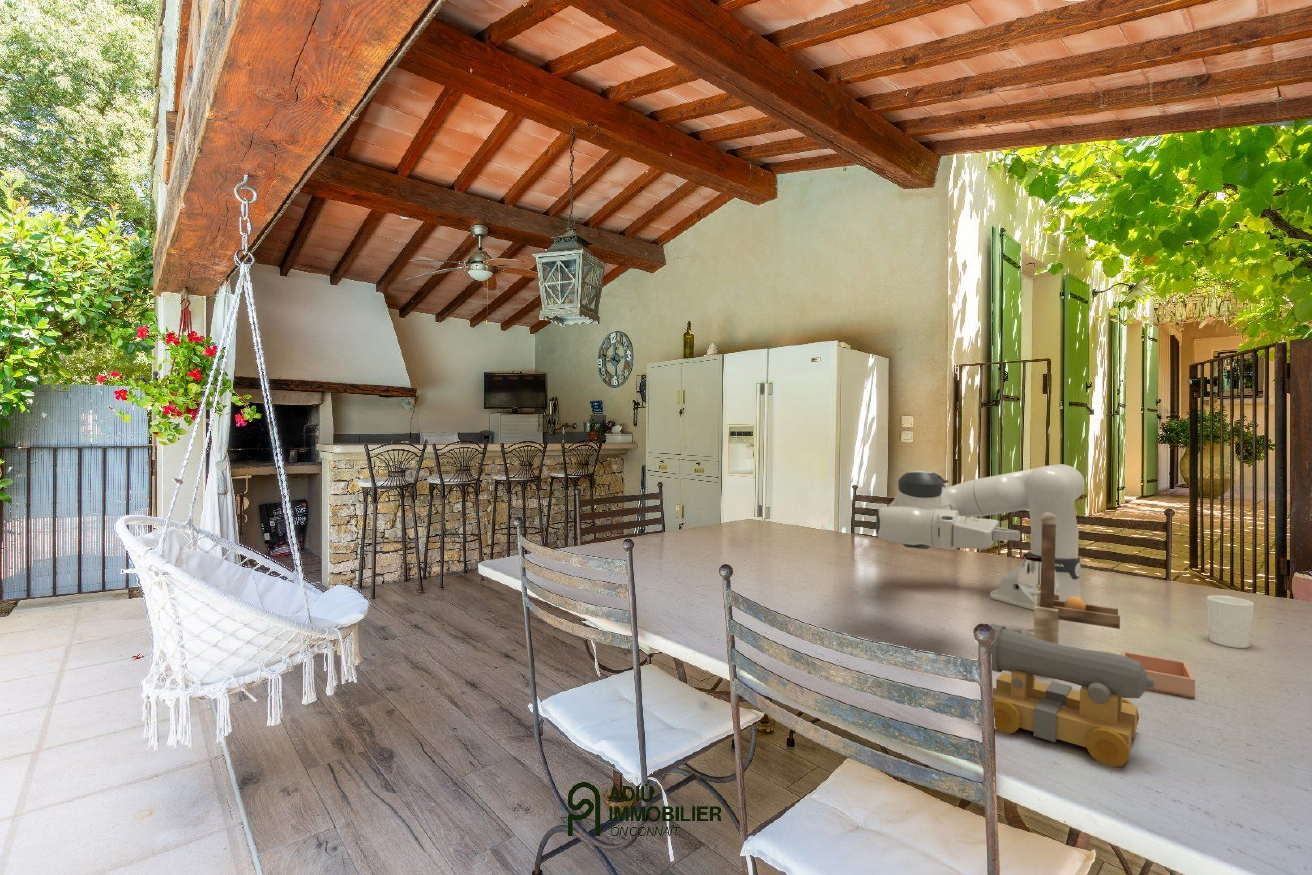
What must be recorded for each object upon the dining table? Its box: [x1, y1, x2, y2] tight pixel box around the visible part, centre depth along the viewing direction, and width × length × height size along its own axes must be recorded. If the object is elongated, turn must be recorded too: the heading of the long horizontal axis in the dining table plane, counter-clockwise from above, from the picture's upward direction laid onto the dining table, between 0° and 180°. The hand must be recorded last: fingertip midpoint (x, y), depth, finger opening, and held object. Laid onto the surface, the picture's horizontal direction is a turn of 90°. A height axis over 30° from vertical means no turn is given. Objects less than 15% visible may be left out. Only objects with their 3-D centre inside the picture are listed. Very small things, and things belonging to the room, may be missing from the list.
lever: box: [1040, 512, 1121, 630], centre depth 125 cm, size 14×12×22 cm
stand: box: [1033, 591, 1060, 644], centre depth 129 cm, size 9×17×13 cm, turn 146°
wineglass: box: [1018, 557, 1058, 638], centre depth 145 cm, size 8×8×18 cm
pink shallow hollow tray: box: [1120, 650, 1196, 700], centre depth 119 cm, size 10×10×4 cm
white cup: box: [1206, 595, 1255, 649], centre depth 141 cm, size 8×8×10 cm
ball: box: [1065, 596, 1086, 611], centre depth 126 cm, size 4×4×4 cm
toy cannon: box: [989, 623, 1154, 768], centre depth 100 cm, size 16×22×15 cm
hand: (1020, 535), depth 131 cm, fingers closed
